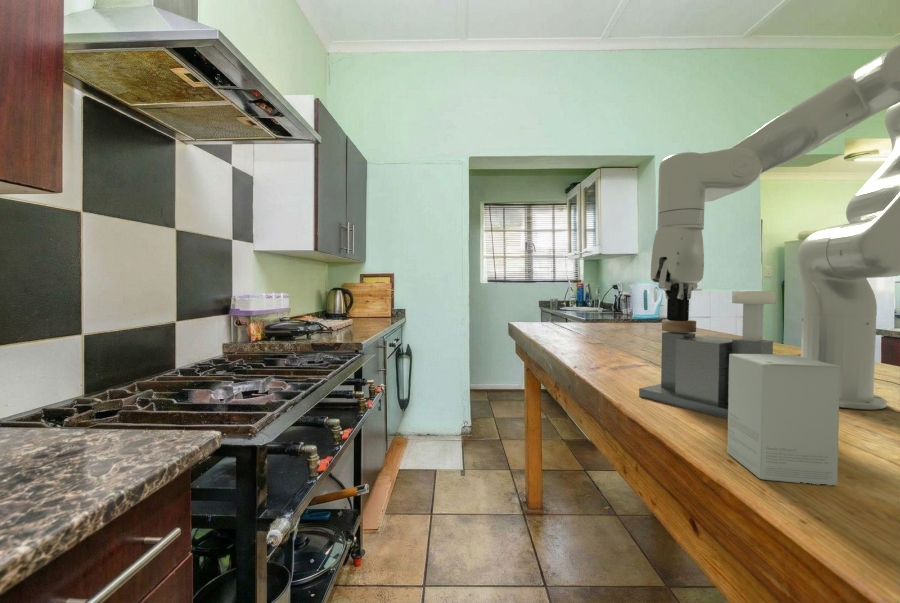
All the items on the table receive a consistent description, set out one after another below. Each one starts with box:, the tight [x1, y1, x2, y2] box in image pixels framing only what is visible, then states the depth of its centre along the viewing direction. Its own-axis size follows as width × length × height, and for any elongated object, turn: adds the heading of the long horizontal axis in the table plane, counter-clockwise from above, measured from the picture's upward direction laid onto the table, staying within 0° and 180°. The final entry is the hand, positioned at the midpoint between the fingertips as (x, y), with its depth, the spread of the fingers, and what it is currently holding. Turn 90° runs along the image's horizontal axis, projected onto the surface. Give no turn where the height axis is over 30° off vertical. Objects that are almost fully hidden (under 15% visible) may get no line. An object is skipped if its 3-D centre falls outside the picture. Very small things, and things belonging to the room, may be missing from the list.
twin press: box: [638, 331, 774, 420], centre depth 69 cm, size 13×19×12 cm
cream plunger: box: [731, 290, 777, 342], centre depth 64 cm, size 6×6×12 cm
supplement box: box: [726, 354, 840, 486], centre depth 44 cm, size 7×7×13 cm
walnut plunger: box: [661, 318, 697, 334], centre depth 74 cm, size 6×6×12 cm
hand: (677, 320), depth 74 cm, fingers closed
